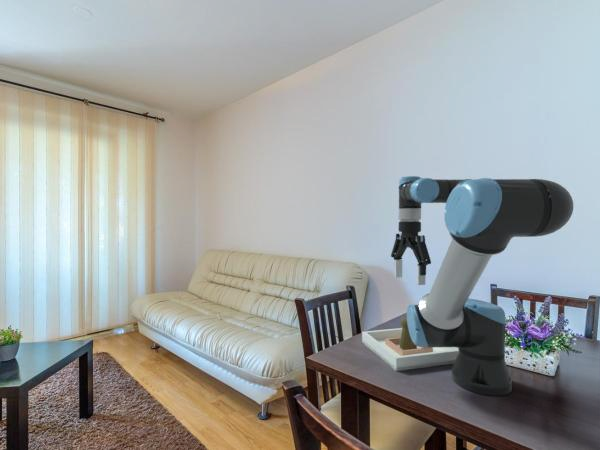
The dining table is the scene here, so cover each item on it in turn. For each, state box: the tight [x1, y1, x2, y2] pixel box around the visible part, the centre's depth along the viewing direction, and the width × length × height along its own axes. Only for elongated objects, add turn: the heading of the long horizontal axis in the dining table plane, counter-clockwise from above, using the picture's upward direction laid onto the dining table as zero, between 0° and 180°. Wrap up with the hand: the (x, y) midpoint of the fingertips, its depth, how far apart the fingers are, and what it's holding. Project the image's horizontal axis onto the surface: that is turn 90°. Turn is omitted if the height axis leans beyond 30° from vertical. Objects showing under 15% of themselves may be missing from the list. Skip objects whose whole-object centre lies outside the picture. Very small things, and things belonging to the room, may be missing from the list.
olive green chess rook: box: [399, 316, 417, 350], centre depth 114 cm, size 6×6×11 cm
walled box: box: [361, 327, 459, 372], centre depth 114 cm, size 24×24×4 cm
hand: (409, 280), depth 115 cm, fingers open, 13 cm apart
